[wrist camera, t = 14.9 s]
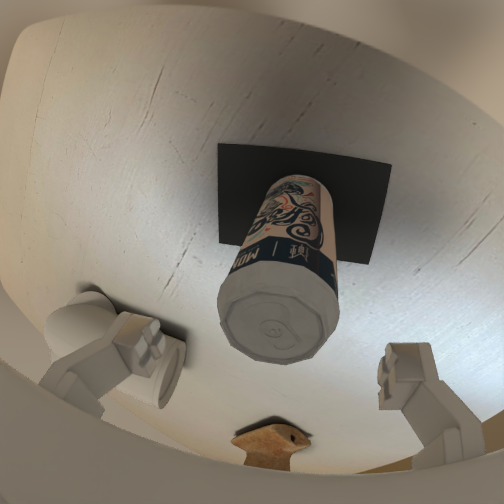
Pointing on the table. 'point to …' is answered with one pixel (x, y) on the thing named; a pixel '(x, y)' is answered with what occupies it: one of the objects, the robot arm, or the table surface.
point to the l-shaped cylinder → (94, 327)
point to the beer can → (284, 277)
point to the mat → (312, 165)
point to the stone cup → (271, 446)
